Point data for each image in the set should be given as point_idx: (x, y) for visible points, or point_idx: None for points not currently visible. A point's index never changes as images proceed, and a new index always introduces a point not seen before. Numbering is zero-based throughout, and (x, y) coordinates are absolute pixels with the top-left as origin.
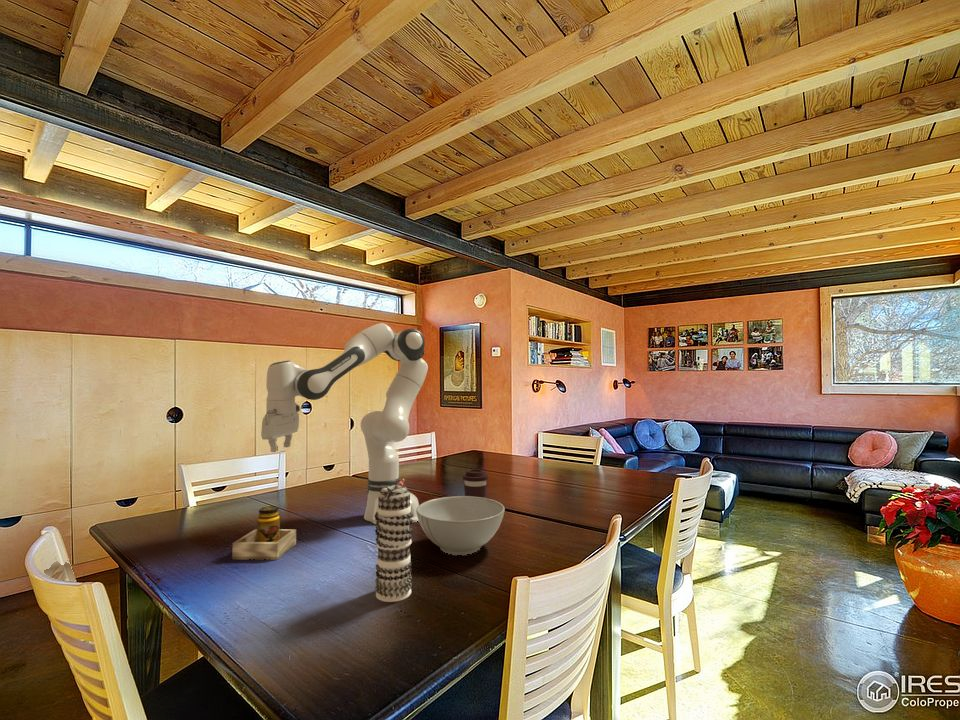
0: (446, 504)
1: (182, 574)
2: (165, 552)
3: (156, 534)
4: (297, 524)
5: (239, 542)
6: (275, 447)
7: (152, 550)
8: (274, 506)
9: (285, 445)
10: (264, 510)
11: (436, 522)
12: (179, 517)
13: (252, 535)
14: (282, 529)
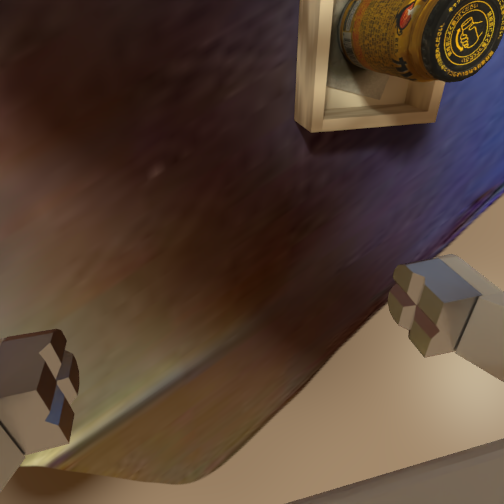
0: None
1: (467, 171)
2: (337, 292)
3: (232, 383)
4: (70, 70)
5: (433, 103)
6: (490, 288)
7: (324, 321)
8: (445, 19)
9: (68, 377)
10: (497, 38)
11: None
12: (114, 430)
13: (344, 115)
14: (321, 10)
